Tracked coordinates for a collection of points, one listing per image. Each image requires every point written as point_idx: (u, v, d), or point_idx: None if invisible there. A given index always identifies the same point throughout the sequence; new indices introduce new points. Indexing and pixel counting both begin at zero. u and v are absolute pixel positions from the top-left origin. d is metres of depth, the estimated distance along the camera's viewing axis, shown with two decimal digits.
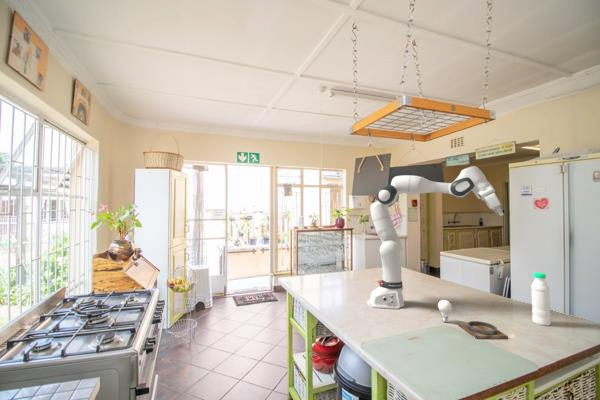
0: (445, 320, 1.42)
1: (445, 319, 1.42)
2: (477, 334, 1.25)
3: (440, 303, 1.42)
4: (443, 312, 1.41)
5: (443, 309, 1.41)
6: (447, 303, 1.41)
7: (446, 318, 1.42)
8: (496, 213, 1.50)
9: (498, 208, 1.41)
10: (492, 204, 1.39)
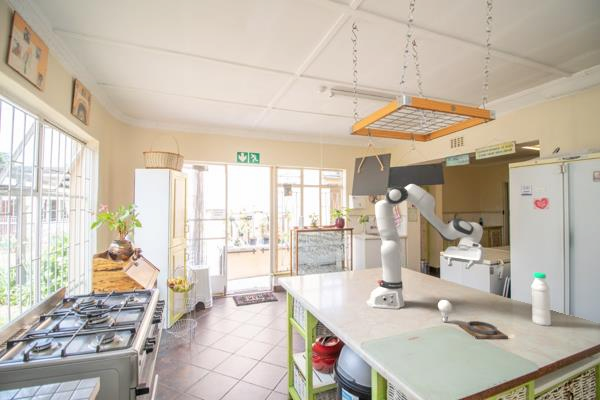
0: (445, 320, 1.42)
1: (445, 319, 1.42)
2: (477, 334, 1.25)
3: (440, 303, 1.42)
4: (443, 312, 1.41)
5: (443, 309, 1.41)
6: (447, 303, 1.41)
7: (446, 318, 1.42)
8: None
9: (473, 263, 1.47)
10: (481, 257, 1.45)
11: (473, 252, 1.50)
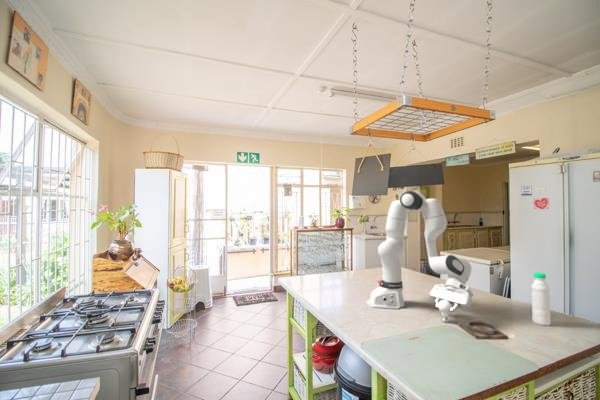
0: (445, 320, 1.42)
1: (445, 319, 1.42)
2: (477, 334, 1.25)
3: (440, 303, 1.42)
4: (443, 312, 1.41)
5: (443, 309, 1.41)
6: (447, 303, 1.41)
7: (446, 318, 1.42)
8: None
9: (458, 306, 1.39)
10: (468, 301, 1.36)
11: (460, 294, 1.41)
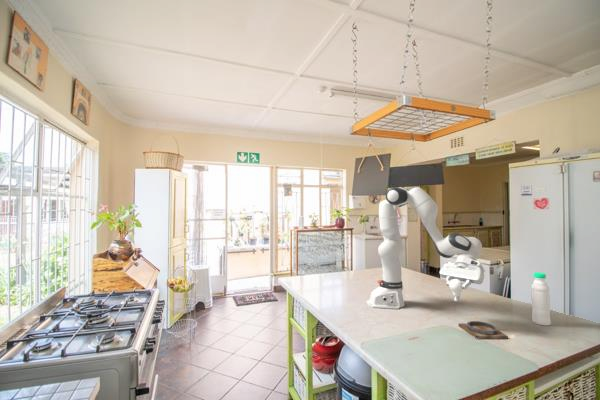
0: (457, 299, 1.38)
1: (457, 298, 1.38)
2: (477, 334, 1.25)
3: (451, 282, 1.39)
4: (455, 291, 1.37)
5: (455, 288, 1.37)
6: (459, 282, 1.37)
7: (458, 297, 1.38)
8: (449, 281, 1.42)
9: (470, 282, 1.36)
10: (480, 277, 1.33)
11: (472, 270, 1.38)
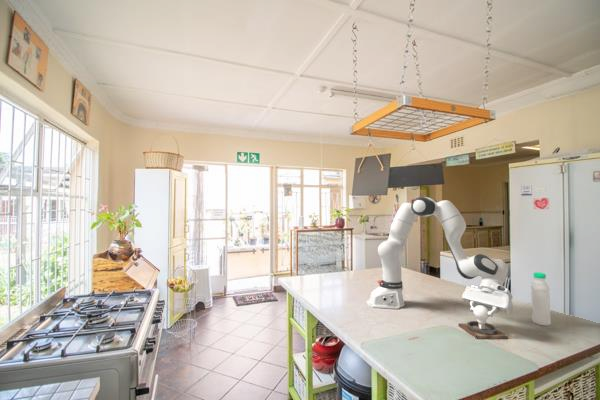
0: (482, 327, 1.29)
1: (482, 326, 1.29)
2: (477, 334, 1.25)
3: (476, 309, 1.30)
4: (480, 318, 1.29)
5: (480, 315, 1.28)
6: (484, 309, 1.29)
7: (483, 325, 1.29)
8: (474, 307, 1.33)
9: (496, 310, 1.27)
10: (508, 305, 1.24)
11: (498, 297, 1.29)
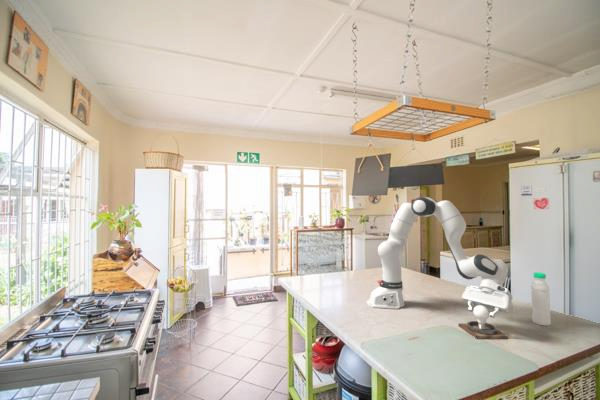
0: (482, 327, 1.29)
1: (482, 326, 1.29)
2: (477, 334, 1.25)
3: (476, 309, 1.30)
4: (480, 318, 1.29)
5: (480, 315, 1.28)
6: (484, 309, 1.29)
7: (483, 325, 1.29)
8: (472, 307, 1.34)
9: (499, 311, 1.27)
10: (508, 305, 1.24)
11: (498, 297, 1.29)
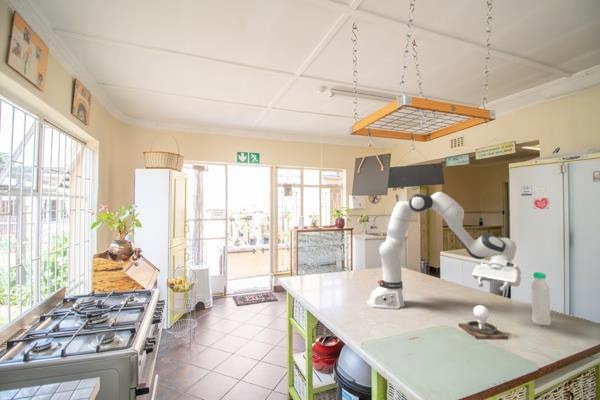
0: (482, 327, 1.29)
1: (482, 326, 1.29)
2: (477, 334, 1.25)
3: (476, 309, 1.30)
4: (480, 318, 1.29)
5: (480, 315, 1.28)
6: (484, 309, 1.29)
7: (483, 325, 1.29)
8: (481, 282, 1.40)
9: (508, 285, 1.32)
10: (517, 279, 1.30)
11: (508, 272, 1.35)
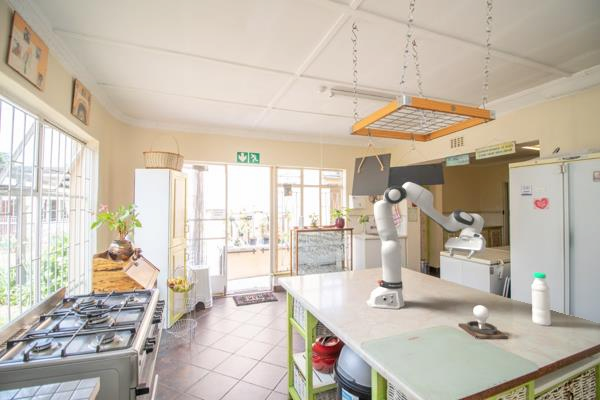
0: (482, 327, 1.29)
1: (482, 326, 1.29)
2: (477, 334, 1.25)
3: (476, 309, 1.30)
4: (480, 318, 1.29)
5: (480, 315, 1.28)
6: (484, 309, 1.29)
7: (483, 325, 1.29)
8: None
9: (474, 253, 1.49)
10: (482, 247, 1.47)
11: (474, 242, 1.52)
